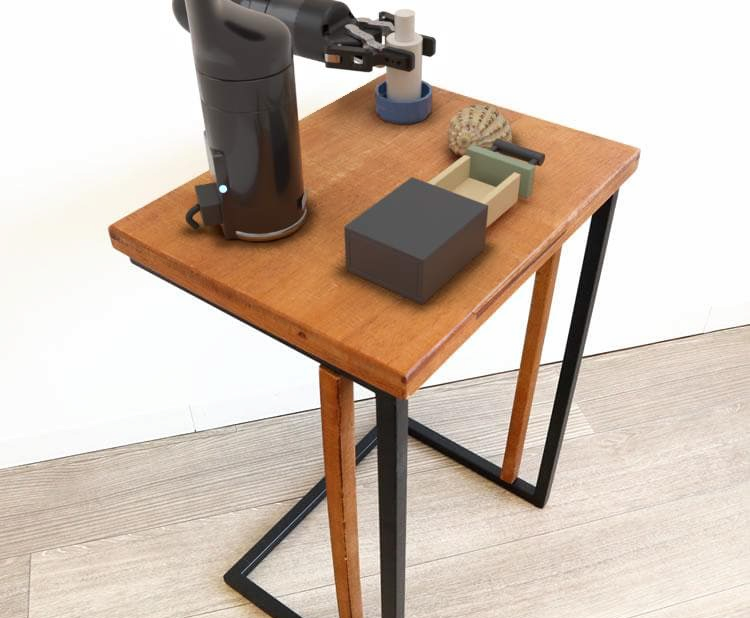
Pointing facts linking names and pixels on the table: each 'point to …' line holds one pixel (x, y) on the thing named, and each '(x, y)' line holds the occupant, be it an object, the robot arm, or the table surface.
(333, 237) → the table surface
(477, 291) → the table surface
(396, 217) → the cabinet
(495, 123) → the seashell
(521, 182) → the drawer
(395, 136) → the table surface
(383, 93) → the bowl
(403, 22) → the bottle
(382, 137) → the table surface
